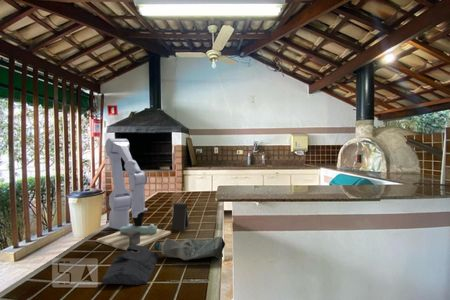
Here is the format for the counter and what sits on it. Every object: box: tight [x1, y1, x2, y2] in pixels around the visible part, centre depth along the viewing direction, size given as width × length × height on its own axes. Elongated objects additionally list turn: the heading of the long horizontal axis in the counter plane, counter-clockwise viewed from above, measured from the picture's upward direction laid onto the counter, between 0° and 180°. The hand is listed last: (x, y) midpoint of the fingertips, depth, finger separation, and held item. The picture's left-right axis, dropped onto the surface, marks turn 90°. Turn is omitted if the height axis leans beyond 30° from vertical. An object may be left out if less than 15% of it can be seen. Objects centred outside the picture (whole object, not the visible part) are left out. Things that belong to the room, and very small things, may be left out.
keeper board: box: [96, 228, 172, 252], centre depth 107 cm, size 21×22×6 cm
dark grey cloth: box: [101, 244, 161, 286], centre depth 80 cm, size 15×22×5 cm
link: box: [119, 223, 158, 234], centre depth 110 cm, size 16×4×3 cm, turn 91°
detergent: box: [154, 235, 226, 261], centre depth 88 cm, size 13×7×25 cm
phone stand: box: [171, 202, 190, 232], centre depth 120 cm, size 9×6×12 cm, turn 173°
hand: (138, 229), depth 112 cm, fingers closed, pressing on link
